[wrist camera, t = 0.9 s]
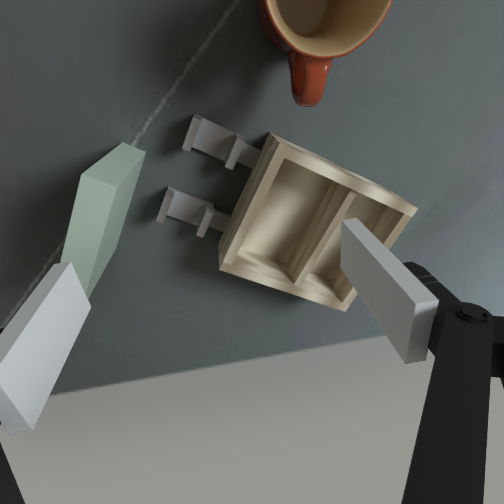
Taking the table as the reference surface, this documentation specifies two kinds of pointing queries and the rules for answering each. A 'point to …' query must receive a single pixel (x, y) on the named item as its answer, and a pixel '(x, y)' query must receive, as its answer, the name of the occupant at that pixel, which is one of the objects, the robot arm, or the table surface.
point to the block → (101, 213)
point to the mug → (318, 36)
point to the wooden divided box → (287, 214)
